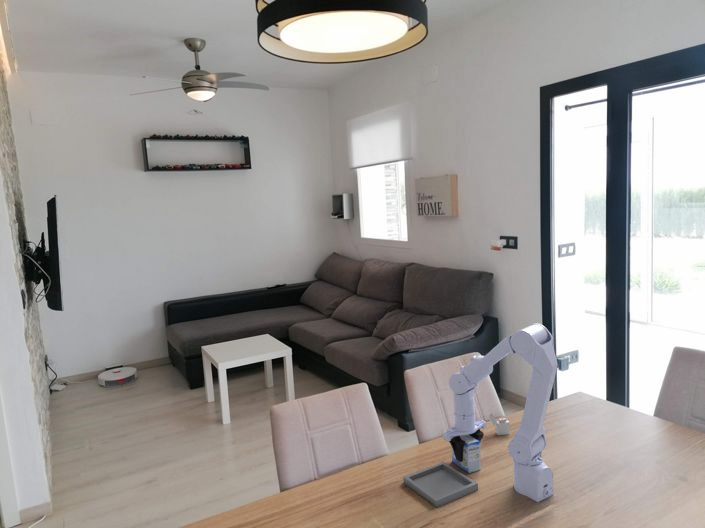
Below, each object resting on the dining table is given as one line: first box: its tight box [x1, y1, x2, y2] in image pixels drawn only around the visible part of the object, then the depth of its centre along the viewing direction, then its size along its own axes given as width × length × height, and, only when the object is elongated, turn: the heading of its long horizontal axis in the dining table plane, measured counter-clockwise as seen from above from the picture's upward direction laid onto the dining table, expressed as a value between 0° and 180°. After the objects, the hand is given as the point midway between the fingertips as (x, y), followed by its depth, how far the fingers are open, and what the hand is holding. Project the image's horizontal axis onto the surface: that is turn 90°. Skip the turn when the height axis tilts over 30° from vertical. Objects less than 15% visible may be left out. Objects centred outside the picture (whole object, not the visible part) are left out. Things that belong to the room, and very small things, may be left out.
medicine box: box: [451, 434, 482, 474], centre depth 144 cm, size 8×4×9 cm, turn 25°
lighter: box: [486, 411, 511, 436], centre depth 162 cm, size 7×2×8 cm, turn 99°
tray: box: [402, 461, 479, 508], centre depth 134 cm, size 14×14×2 cm
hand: (466, 457), depth 144 cm, fingers closed on medicine box, 5 cm apart
